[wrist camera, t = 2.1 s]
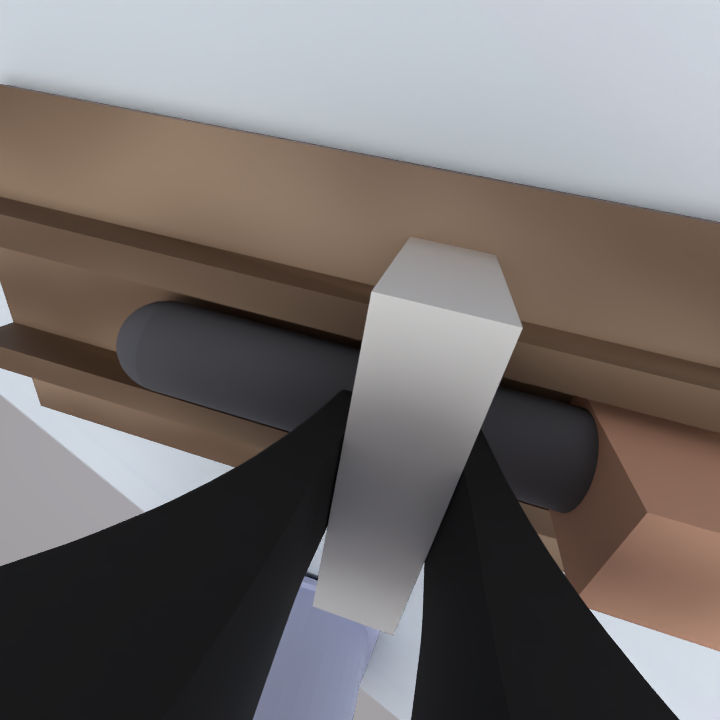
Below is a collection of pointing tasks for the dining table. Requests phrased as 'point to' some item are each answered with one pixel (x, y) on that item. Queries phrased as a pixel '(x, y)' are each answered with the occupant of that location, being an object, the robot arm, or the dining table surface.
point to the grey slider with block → (511, 449)
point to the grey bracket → (412, 422)
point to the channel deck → (322, 266)
